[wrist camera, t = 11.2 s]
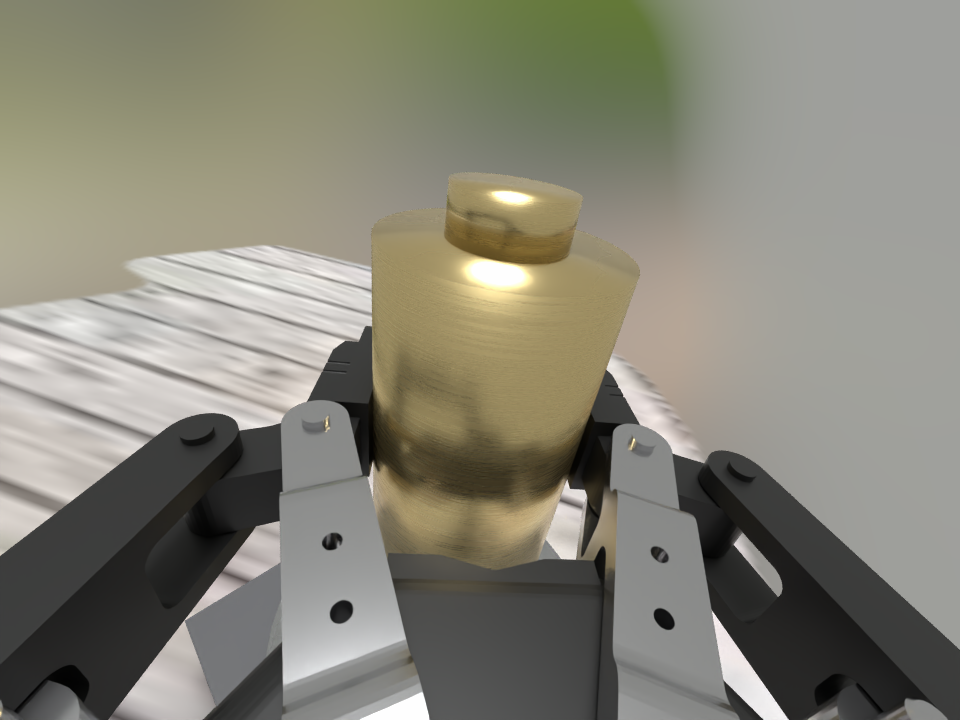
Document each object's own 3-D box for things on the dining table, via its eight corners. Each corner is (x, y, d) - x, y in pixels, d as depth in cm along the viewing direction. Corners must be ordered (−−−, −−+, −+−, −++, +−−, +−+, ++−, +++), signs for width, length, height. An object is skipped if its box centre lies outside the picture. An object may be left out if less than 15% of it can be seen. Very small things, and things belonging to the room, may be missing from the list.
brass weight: (441, 700, 11) (537, 243, 4) (343, 560, 13) (314, 157, 7) (555, 578, 14) (706, 213, 7) (457, 485, 17) (507, 162, 10)
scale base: (396, 1165, 10) (402, 1216, 8) (207, 664, 18) (182, 615, 16) (643, 703, 19) (680, 662, 17) (444, 501, 27) (451, 454, 25)
